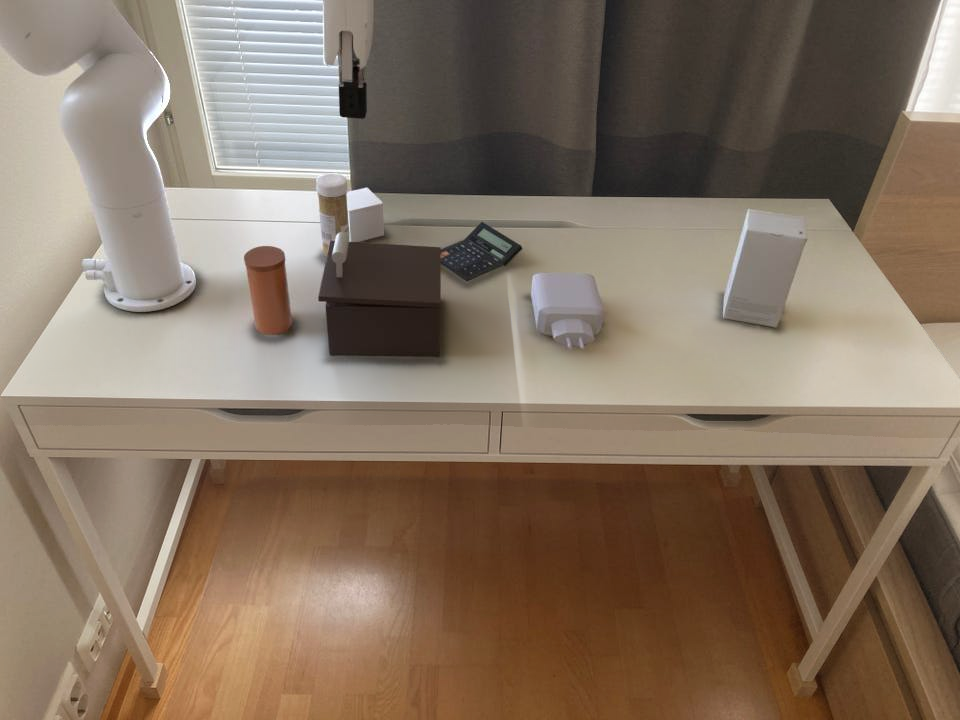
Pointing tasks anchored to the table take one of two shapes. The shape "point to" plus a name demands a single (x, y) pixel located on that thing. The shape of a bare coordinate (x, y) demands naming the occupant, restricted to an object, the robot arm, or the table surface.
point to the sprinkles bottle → (332, 207)
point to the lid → (381, 274)
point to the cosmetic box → (764, 267)
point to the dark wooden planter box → (382, 330)
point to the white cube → (364, 215)
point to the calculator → (479, 252)
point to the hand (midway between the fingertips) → (353, 115)
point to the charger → (567, 307)
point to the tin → (268, 289)
